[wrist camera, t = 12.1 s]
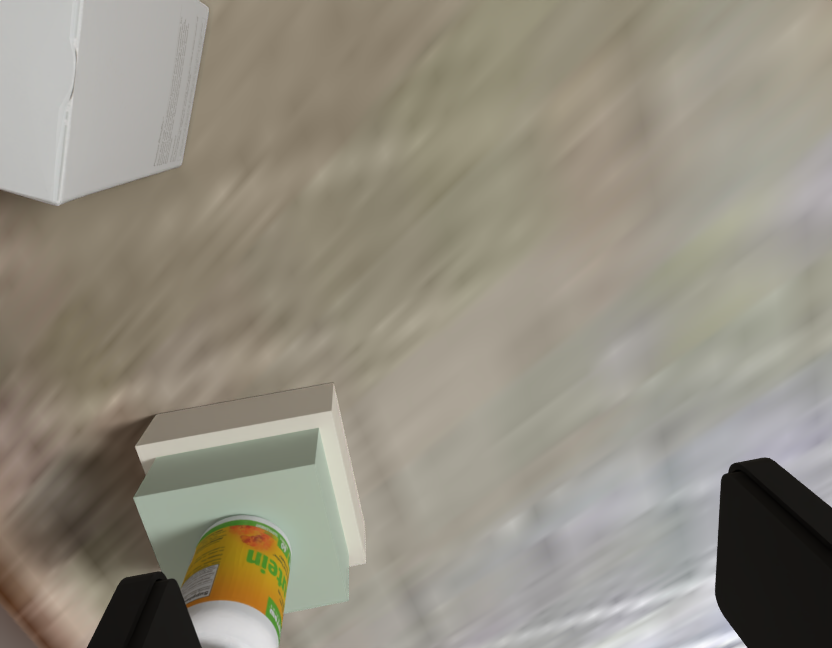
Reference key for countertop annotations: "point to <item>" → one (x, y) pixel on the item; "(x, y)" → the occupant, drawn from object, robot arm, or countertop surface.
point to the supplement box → (94, 92)
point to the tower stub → (257, 485)
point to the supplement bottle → (238, 583)
